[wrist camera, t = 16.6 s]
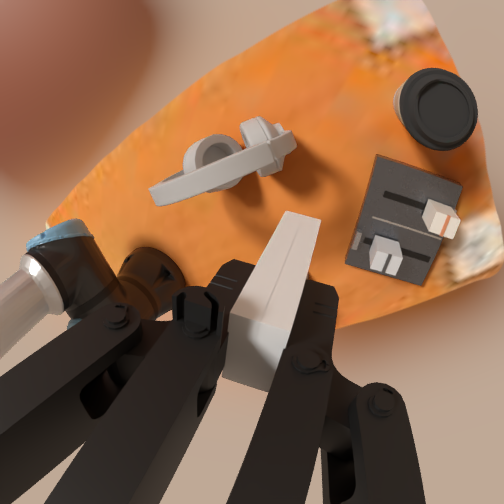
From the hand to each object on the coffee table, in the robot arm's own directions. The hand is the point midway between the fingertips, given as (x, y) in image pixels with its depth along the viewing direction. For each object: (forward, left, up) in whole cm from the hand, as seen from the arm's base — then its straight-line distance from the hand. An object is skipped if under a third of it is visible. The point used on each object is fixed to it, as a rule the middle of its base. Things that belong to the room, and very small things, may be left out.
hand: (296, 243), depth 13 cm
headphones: (-12, -5, -35) cm, 37 cm away
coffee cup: (+10, +8, -35) cm, 37 cm away
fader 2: (+18, -6, -32) cm, 37 cm away
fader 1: (+12, -14, -32) cm, 37 cm away
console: (+14, -10, -34) cm, 38 cm away
